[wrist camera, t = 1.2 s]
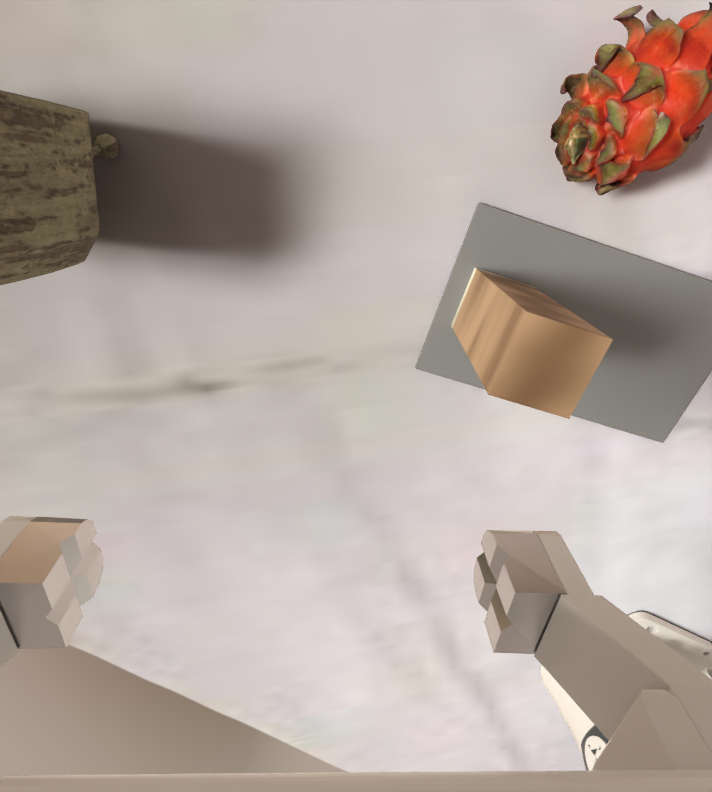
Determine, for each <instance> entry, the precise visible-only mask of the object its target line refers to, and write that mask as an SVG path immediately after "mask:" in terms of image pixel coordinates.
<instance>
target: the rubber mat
mask: <svg viewBox="0 0 712 792" xmlns="http://www.w3.org/2000/svg"><path fill="white" fill-rule="evenodd" d="M474 268H478V269H481V270H484V271H488V272H491V273H494V274H497V275H500V276H503V277H506V278H509V279H512V280H515V281H518V282H521V283H524V284H527V285H531V286H533V287H535V288H536V289H538V290H539V291H541V292H542V293H544V294H545V295H547V296H548V297H550V298H551V299H553V300H554V301H556V302H557V303H559V304H560V305H562V306H563V307H565V308H566V309H568V310H569V311H571V312H572V313H574V314H575V315H577V316H578V317H580V318H581V319H583V320H585V321H586V322H588V323H589V324H591V325H592V326H594V327H595V328H597V329H598V330H600V331H601V332H603V333H604V334H606V335H607V336H609V337H610V338H612V339H613V341H612V342H611V344H610V346H609V348H608V350H607V351H606V353H605V355H604V357H603V359H602V360H601V362H600V364H599V366H598V368H597V369H596V371H595V373H594V375H593V377H592V378H591V380H590V382H589V384H588V386H587V387H586V389H585V391H584V393H583V394H582V396H581V398H580V400H579V402H578V403H577V405H576V407H575V409H574V411H573V412H572V414H571V415H572V416H575V417H579V418H582V419H585V420H588V421H592V422H595V423H598V424H602V425H605V426H608V427H612V428H615V429H618V430H622V431H625V432H628V433H632V434H635V435H638V436H642V437H645V438H648V439H652V440H655V441H658V442H662V443H663V441H664V440H665V438H666V437H667V435H668V434H669V432H670V431H671V429H672V428H673V426H674V425H675V423H676V422H677V420H678V419H679V417H680V416H681V414H682V413H683V411H684V410H685V408H686V407H687V405H688V404H689V402H690V401H691V399H692V398H693V396H694V395H695V393H696V392H697V390H698V389H699V387H700V386H701V384H702V383H703V381H704V380H705V378H706V377H707V376H708V374H709V373H710V371H711V370H712V282H711V281H708V280H706V279H703V278H700V277H697V276H694V275H691V274H688V273H685V272H682V271H679V270H676V269H673V268H670V267H667V266H664V265H661V264H658V263H655V262H652V261H650V260H647V259H644V258H641V257H638V256H635V255H632V254H629V253H626V252H623V251H620V250H617V249H614V248H611V247H608V246H605V245H602V244H599V243H597V242H594V241H591V240H588V239H585V238H582V237H579V236H576V235H573V234H570V233H567V232H564V231H561V230H558V229H555V228H552V227H549V226H546V225H543V224H541V223H538V222H535V221H532V220H529V219H526V218H523V217H520V216H517V215H514V214H511V213H508V212H505V211H502V210H499V209H496V208H493V207H490V206H488V205H485V204H482V203H478V205H477V208H476V210H475V213H474V215H473V218H472V221H471V223H470V226H469V229H468V231H467V234H466V236H465V239H464V242H463V244H462V247H461V249H460V252H459V255H458V257H457V260H456V262H455V265H454V268H453V270H452V273H451V275H450V278H449V281H448V283H447V286H446V288H445V291H444V294H443V296H442V299H441V301H440V304H439V307H438V309H437V312H436V314H435V317H434V320H433V322H432V325H431V327H430V330H429V333H428V335H427V338H426V341H425V343H424V346H423V348H422V351H421V354H420V356H419V359H418V361H417V364H416V367H415V368H416V369H419V370H422V371H425V372H429V373H432V374H435V375H439V376H442V377H445V378H449V379H452V380H455V381H459V382H462V383H465V384H469V385H472V386H475V387H479V388H482V389H485V387H484V385H483V384H482V382H481V380H480V378H479V376H478V374H477V373H476V371H475V369H474V367H473V365H472V363H471V361H470V360H469V358H468V356H467V354H466V352H465V350H464V349H463V347H462V345H461V343H460V341H459V339H458V337H457V336H456V334H455V332H454V330H453V328H452V326H451V325H452V322H453V320H454V317H455V315H456V312H457V310H458V307H459V305H460V302H461V300H462V298H463V295H464V293H465V290H466V288H467V285H468V283H469V280H470V278H471V275H472V273H473V270H474ZM485 390H486V389H485Z"/></svg>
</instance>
